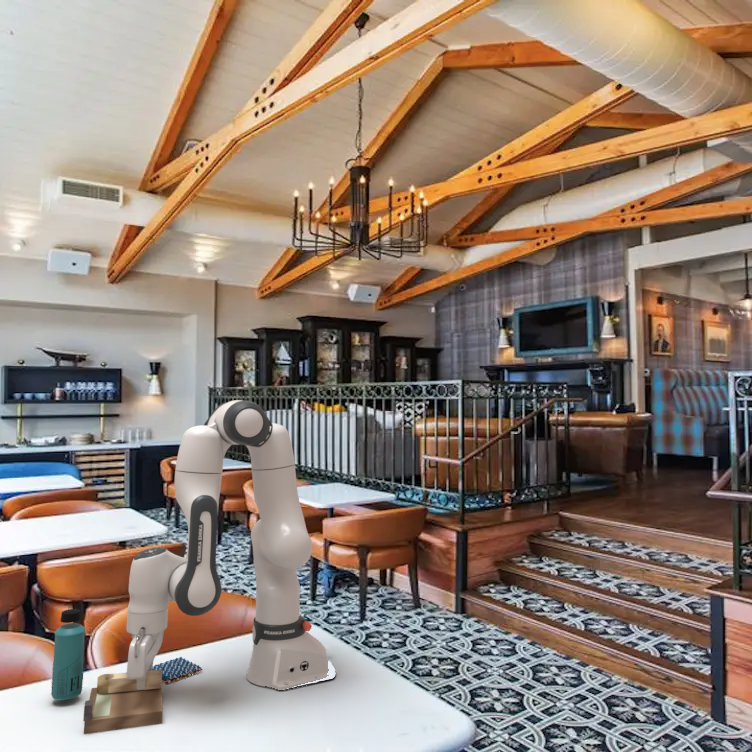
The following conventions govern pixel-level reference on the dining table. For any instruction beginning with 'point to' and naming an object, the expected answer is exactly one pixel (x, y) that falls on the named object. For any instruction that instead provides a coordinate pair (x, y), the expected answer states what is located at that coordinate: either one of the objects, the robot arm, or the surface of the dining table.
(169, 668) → the woven mat
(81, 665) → the beverage bottle
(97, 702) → the brown wooden box
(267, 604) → the robot arm
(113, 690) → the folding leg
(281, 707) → the dining table surface
